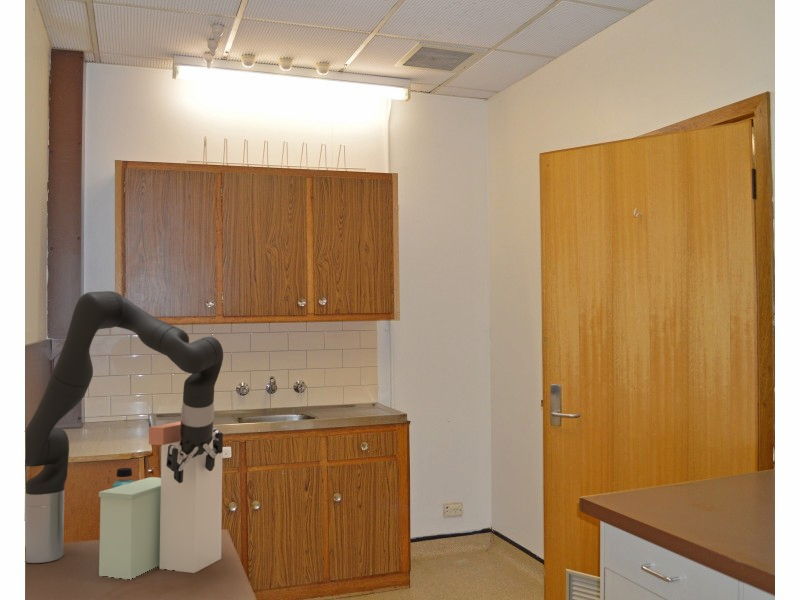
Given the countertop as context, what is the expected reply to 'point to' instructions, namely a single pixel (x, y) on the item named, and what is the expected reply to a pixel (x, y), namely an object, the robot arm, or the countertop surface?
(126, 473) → the beverage bottle
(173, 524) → the stand
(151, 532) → the pale mint green block
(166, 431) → the long salmon orange block
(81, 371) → the robot arm
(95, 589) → the countertop surface
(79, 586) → the countertop surface
